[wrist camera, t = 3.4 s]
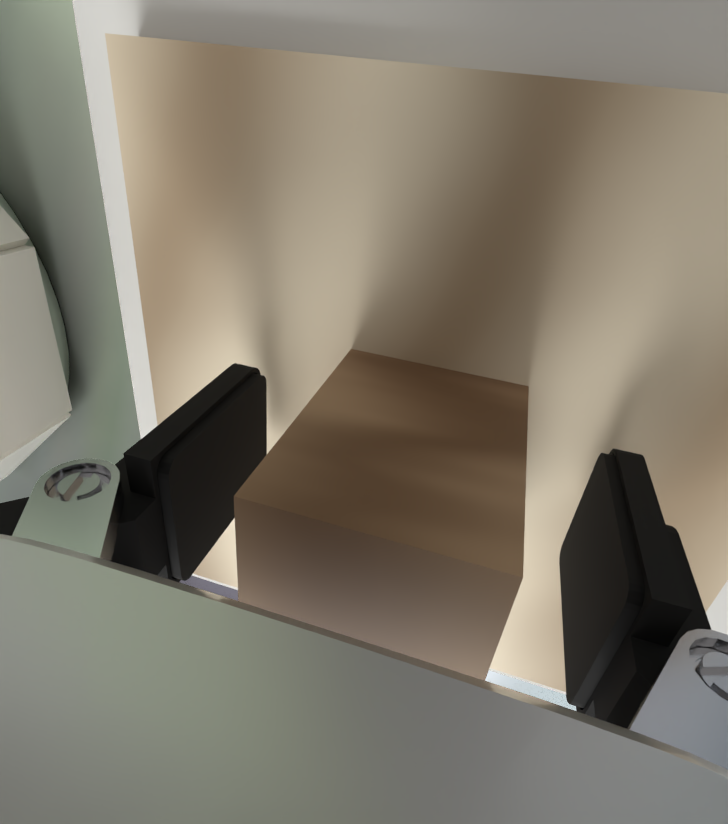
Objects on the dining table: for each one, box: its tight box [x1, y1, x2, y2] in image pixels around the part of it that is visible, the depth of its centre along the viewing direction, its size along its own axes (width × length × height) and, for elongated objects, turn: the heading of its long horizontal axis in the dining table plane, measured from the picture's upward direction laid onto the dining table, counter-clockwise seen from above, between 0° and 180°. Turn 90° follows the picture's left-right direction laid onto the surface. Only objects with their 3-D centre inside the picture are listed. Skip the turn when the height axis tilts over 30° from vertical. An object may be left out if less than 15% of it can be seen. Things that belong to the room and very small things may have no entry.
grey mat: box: [72, 0, 728, 695], centre depth 14 cm, size 18×18×1 cm
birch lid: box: [105, 33, 728, 692], centre depth 11 cm, size 15×15×6 cm
